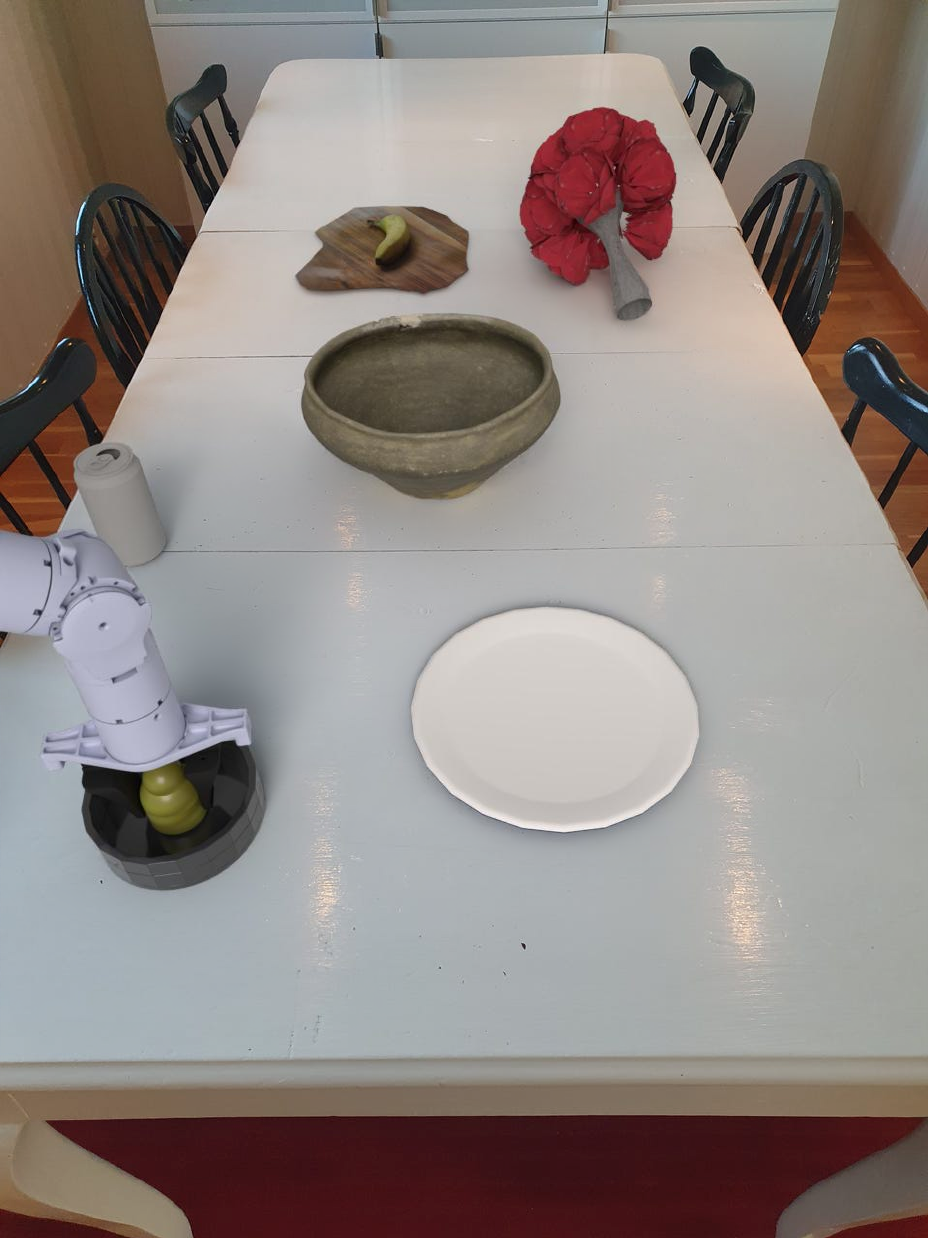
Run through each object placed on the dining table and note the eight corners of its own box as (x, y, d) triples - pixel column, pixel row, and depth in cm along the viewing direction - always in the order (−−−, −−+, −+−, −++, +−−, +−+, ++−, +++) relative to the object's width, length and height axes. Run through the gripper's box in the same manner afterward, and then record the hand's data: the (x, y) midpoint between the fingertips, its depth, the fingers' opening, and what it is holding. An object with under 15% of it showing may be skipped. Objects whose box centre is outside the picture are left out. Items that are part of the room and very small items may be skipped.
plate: (497, 582, 92) (497, 572, 91) (737, 672, 83) (740, 663, 82) (355, 757, 77) (353, 749, 76) (628, 892, 68) (630, 884, 67)
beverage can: (179, 538, 98) (149, 444, 89) (146, 576, 94) (111, 482, 85) (129, 526, 99) (95, 434, 91) (94, 564, 95) (55, 470, 87)
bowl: (603, 493, 102) (615, 382, 92) (385, 583, 92) (372, 469, 82) (473, 383, 119) (472, 279, 109) (278, 449, 109) (256, 341, 99)
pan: (152, 925, 67) (136, 898, 64) (68, 814, 73) (51, 786, 71) (297, 816, 73) (289, 788, 70) (207, 724, 80) (197, 694, 77)
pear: (168, 846, 70) (143, 791, 65) (138, 809, 73) (111, 754, 67) (219, 810, 72) (198, 755, 67) (188, 776, 75) (165, 720, 70)
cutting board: (468, 296, 136) (467, 271, 134) (288, 298, 137) (284, 273, 134) (471, 205, 161) (470, 183, 158) (318, 207, 162) (315, 185, 159)
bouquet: (688, 337, 140) (631, 177, 147) (738, 235, 117) (668, 52, 124) (553, 365, 138) (503, 202, 145) (578, 268, 115) (516, 79, 122)
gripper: (236, 637, 66) (268, 749, 75) (29, 662, 64) (89, 773, 74) (233, 712, 61) (268, 822, 70) (9, 741, 59) (76, 849, 69)
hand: (176, 802), depth 72 cm, fingers closed on pear, 4 cm apart
